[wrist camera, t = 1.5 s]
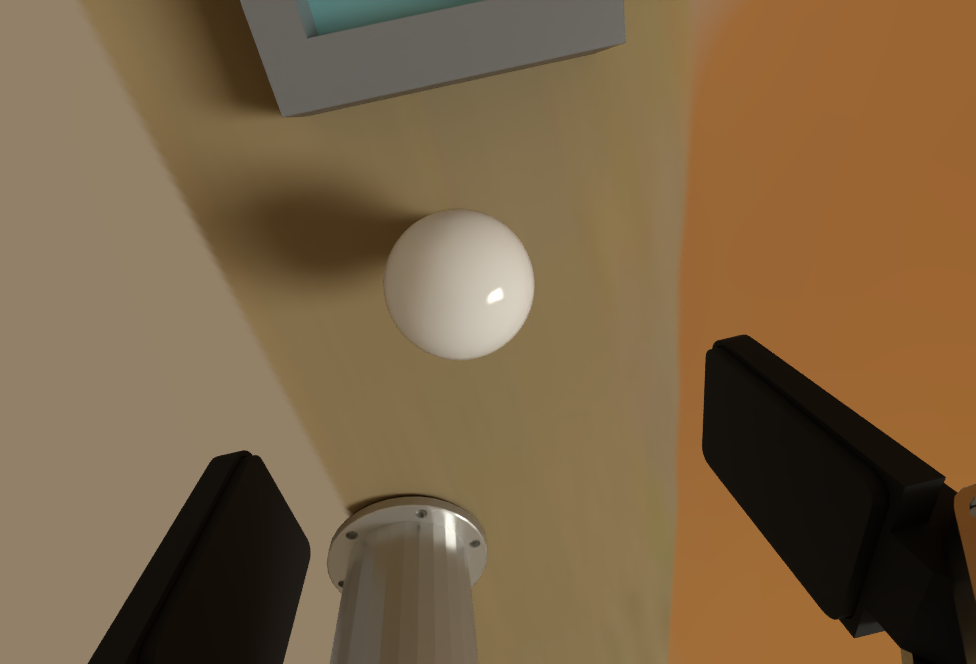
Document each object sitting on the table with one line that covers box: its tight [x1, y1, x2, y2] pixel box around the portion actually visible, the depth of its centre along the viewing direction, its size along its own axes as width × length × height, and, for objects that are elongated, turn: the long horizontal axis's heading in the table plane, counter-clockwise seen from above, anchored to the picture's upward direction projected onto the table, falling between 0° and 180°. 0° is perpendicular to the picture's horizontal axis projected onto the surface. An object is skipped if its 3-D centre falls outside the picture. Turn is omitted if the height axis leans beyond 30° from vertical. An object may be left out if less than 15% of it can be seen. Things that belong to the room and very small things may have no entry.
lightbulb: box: [383, 209, 534, 360], centre depth 21 cm, size 6×6×11 cm
